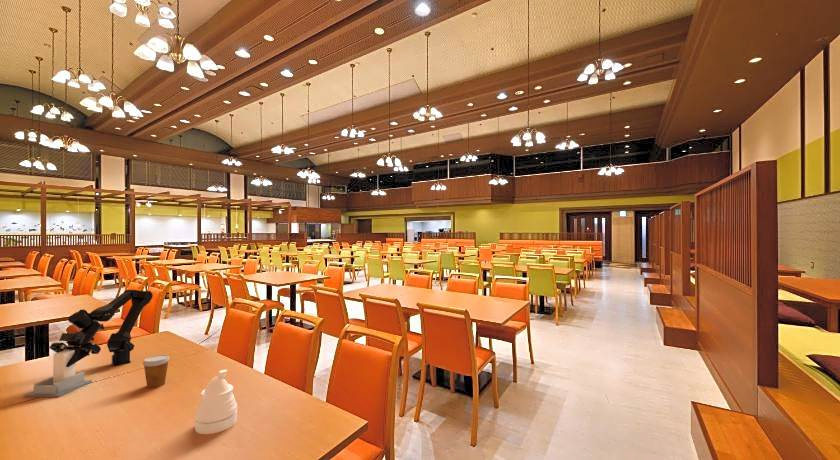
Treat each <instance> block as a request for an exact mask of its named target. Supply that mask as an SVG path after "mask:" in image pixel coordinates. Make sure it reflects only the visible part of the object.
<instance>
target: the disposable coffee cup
mask: <svg viewBox="0 0 840 460" xmlns="http://www.w3.org/2000/svg"><path fill="white" fill-rule="evenodd" d="M170 359H171V358H170V357H169V355H168V354H156V355H150V356H148V357H146V358H145V359H144V360H143V362H142V365H143V368H144V374H145V381H146V388H148V389H154V388H159V387H162V386H163V385H165V383H166V378H167V373H168V366H169V361H170Z"/></svg>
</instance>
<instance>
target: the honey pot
mask: <svg viewBox="0 0 840 460" xmlns="http://www.w3.org/2000/svg"><path fill="white" fill-rule="evenodd" d="M218 374H219V375H216V376H214V377H213V378H212V379H211V380H209V382H208V384H207V386H206V387H205V388H204V389H203V390H202V391H201V392H200V396H201V398H200V400H199V402H198V405H197V409H196V411H195V413H194V414H195V415H194V416H195V417H194V419H195V420H194V430H195V432H196V433H197V434H199V435H200V434H201V435H210V434H212V435H213V434H217V433H220V432H223V431H226V430H228V429H229V428H231V427H233V426H234V425H235V424H236V423H237V421H238V403H237V402H236V398H235V395H234V393H233V391H234V386H233V385H232V384H230V383H228V382H227V381H226V379H225V378H224V377H225V376H226V375H227V374H228V369H221V370H219V371H218Z"/></svg>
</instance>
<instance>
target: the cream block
mask: <svg viewBox="0 0 840 460" xmlns="http://www.w3.org/2000/svg"><path fill="white" fill-rule="evenodd" d="M74 352H75V350H64V351H61V352H58V353H56V352H55V353H53V357H52V359H53V365H52V371H53V372H52V377H53V383H56V382H58V381H61V380H63V379H66V378H68V377H71V376H73V375H76V363H77V362H76V363H74V364H73V365H71V366H70V367H66V365H67V363H68V362H69V360H70V359H71V357H72V356H73V355H74Z"/></svg>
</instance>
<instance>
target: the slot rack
mask: <svg viewBox="0 0 840 460" xmlns="http://www.w3.org/2000/svg"><path fill="white" fill-rule="evenodd" d="M92 383H93V380H92V379H85V371H81V372H79V373H75V375H73V376H71V377H68V378H66V379H63V380H61V381H58V382H56V383H53V376H51V377H48V378H45V379H43V380H41V381H40V380H39V381H38V382H37V381H36V383H34V384H33V390H32V391H30V392H28V393H26V394H24V397H25V398H61V397H62V396H65V395H67V394H69V393H71V392H73V391H76V390H78V389H81V388H84V387H85V386H86V385H90V384H92Z"/></svg>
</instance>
